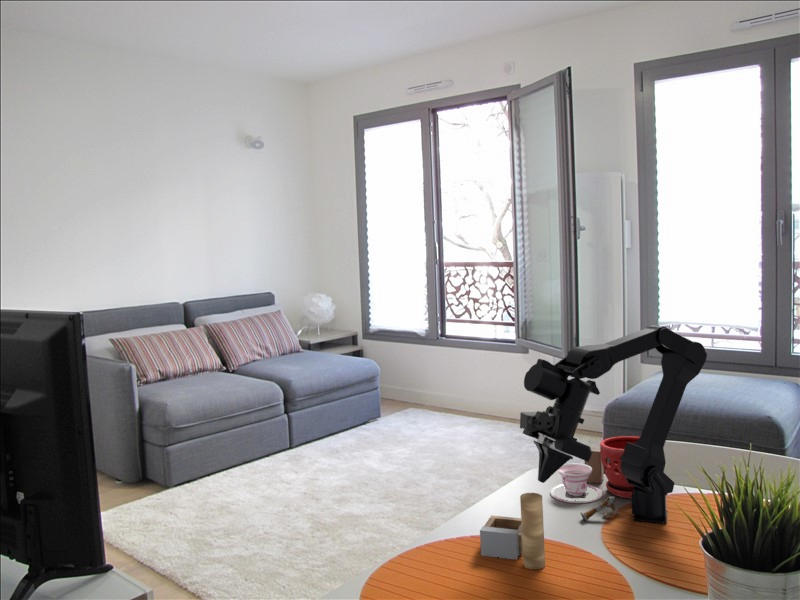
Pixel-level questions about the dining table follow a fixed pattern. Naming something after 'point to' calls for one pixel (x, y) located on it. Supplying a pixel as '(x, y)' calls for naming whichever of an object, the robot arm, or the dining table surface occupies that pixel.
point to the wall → (499, 542)
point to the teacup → (576, 481)
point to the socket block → (507, 526)
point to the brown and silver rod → (600, 507)
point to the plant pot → (616, 464)
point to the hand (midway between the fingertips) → (540, 481)
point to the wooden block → (595, 466)
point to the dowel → (532, 530)
